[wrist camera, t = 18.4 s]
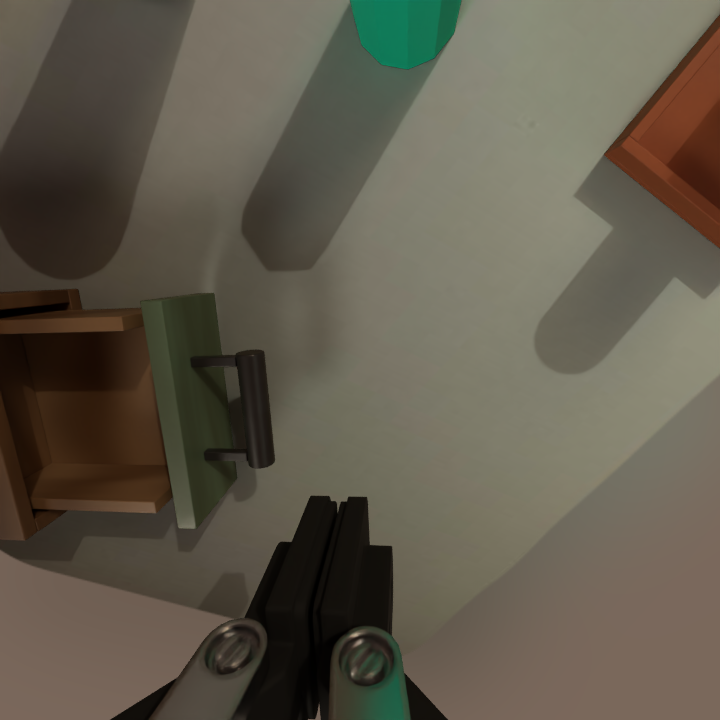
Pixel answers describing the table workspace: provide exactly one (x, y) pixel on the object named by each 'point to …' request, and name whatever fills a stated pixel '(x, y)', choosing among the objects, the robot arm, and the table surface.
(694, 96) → the tray
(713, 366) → the table surface
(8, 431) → the cabinet
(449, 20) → the candle
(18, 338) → the drawer
